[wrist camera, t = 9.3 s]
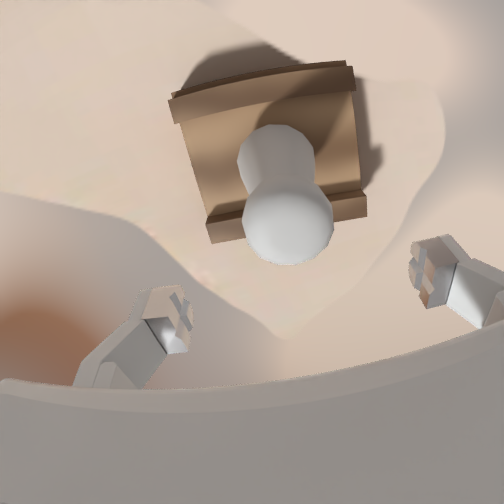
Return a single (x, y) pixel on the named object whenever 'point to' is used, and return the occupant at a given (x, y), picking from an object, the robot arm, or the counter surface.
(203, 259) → the counter surface
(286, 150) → the salt shaker
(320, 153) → the display stand
